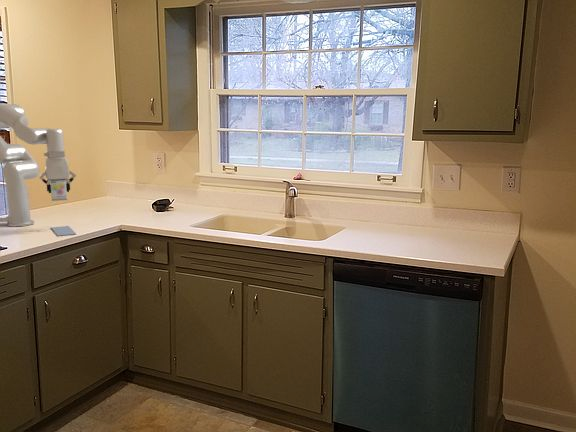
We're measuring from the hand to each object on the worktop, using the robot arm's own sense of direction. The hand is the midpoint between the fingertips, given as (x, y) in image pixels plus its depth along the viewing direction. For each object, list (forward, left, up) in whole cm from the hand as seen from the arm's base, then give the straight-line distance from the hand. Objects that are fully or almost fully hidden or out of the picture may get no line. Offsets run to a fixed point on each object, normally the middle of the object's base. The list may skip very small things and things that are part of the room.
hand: (58, 192), depth 258 cm
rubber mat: (0, -6, -18) cm, 19 cm away
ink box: (0, 0, -4) cm, 4 cm away
